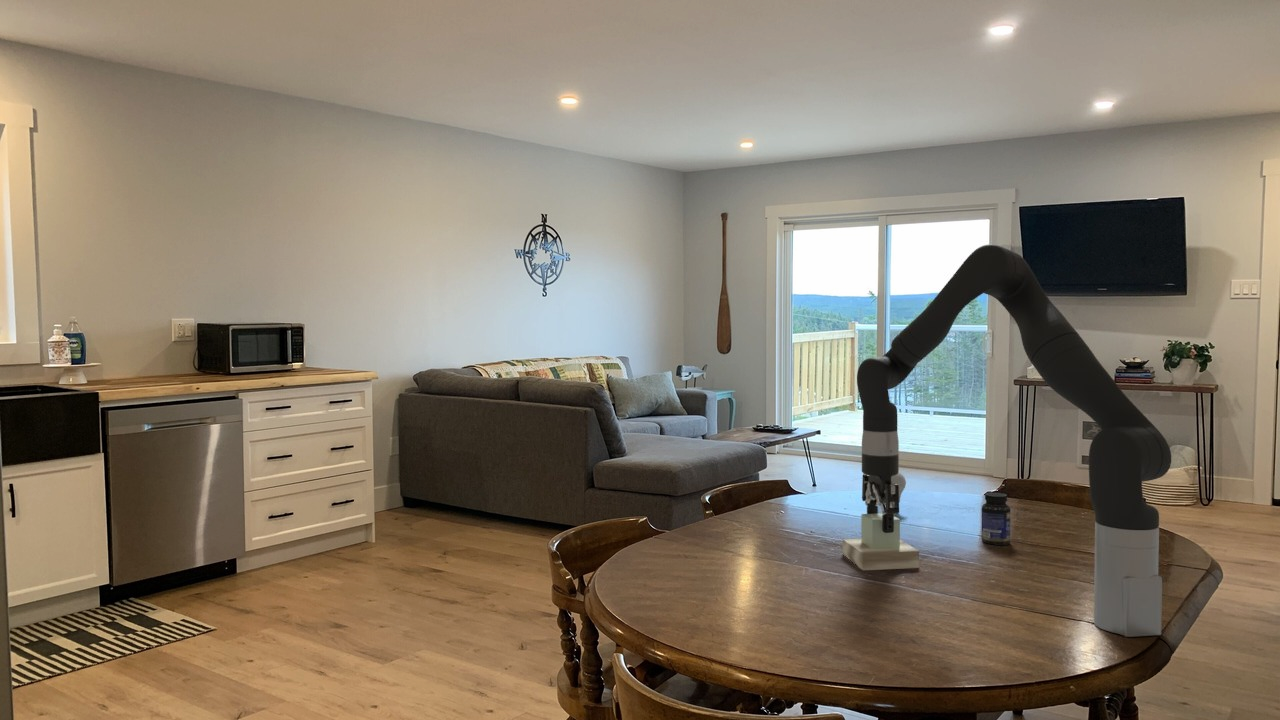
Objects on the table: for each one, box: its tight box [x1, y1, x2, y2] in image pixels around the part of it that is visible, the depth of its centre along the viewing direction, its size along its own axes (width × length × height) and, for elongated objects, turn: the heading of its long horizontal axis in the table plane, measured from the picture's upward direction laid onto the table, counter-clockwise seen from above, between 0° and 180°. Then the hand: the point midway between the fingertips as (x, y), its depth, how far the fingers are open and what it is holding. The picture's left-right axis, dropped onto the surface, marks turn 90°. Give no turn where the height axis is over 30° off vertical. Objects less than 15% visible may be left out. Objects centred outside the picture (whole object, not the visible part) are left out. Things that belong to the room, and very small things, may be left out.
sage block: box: [860, 512, 901, 549], centre depth 189 cm, size 6×6×6 cm
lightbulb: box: [891, 472, 907, 507], centre depth 237 cm, size 6×6×11 cm
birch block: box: [842, 537, 920, 571], centre depth 189 cm, size 12×12×4 cm
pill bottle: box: [981, 492, 1011, 546], centre depth 204 cm, size 6×6×11 cm
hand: (879, 527), depth 189 cm, fingers open, 8 cm apart
